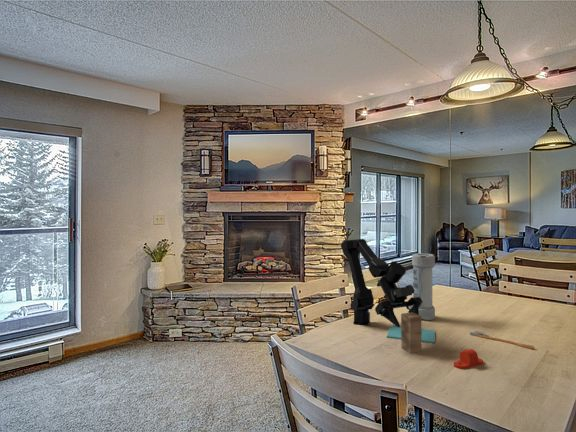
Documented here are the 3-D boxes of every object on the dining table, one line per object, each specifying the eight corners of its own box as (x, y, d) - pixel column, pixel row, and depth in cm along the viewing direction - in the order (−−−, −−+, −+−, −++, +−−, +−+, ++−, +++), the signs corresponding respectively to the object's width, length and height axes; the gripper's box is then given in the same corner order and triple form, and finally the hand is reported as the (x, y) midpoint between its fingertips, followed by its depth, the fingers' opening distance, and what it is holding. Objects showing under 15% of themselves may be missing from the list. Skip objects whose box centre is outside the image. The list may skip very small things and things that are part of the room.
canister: (411, 319, 167) (411, 255, 166) (412, 313, 176) (412, 253, 175) (434, 321, 163) (434, 256, 162) (434, 315, 172) (434, 253, 172)
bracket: (461, 370, 115) (461, 355, 115) (451, 366, 118) (451, 351, 118) (485, 364, 119) (486, 349, 119) (475, 359, 123) (475, 345, 123)
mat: (386, 337, 144) (386, 335, 144) (390, 326, 157) (390, 325, 157) (434, 343, 137) (434, 341, 137) (434, 331, 150) (434, 330, 150)
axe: (538, 345, 134) (538, 341, 134) (534, 351, 130) (534, 346, 130) (474, 331, 151) (474, 327, 151) (469, 336, 146) (469, 332, 146)
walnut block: (401, 348, 133) (401, 313, 133) (412, 346, 135) (412, 312, 134) (410, 353, 128) (410, 317, 128) (421, 351, 130) (421, 315, 130)
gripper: (379, 280, 134) (398, 317, 123) (419, 276, 140) (440, 311, 130) (367, 296, 141) (384, 332, 131) (406, 292, 148) (425, 326, 137)
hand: (409, 325), depth 132 cm, fingers open, 9 cm apart
